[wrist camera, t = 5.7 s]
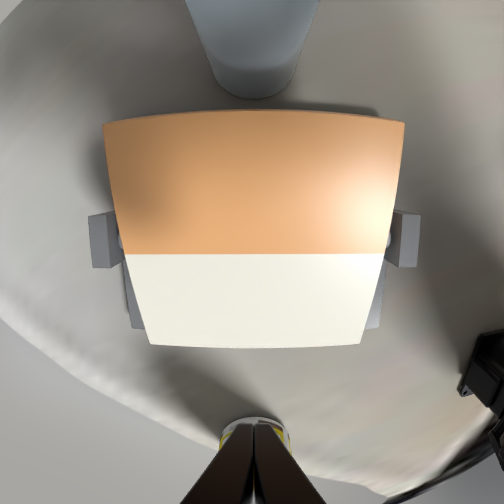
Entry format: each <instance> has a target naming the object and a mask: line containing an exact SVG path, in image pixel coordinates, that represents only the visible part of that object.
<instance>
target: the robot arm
mask: <svg viewBox="0 0 504 504" xmlns="http://www.w3.org/2000/svg"><path fill="white" fill-rule="evenodd" d="M459 394H460V396H461V397H465V396H468V395H471V394H475V396H476V397H477V398H478V399H479V400H480V401H481V402H482V403H483V405H484V406H485V407H489V408H490V410H491V411H492V412H493V413H494V414H495V415H496V416H497V418H498V419H500V420H499V422H498V423H497V424H496V426H495V427H494V428H493V429H491V431H490V432H489V433H488V437H489V439H490V442H491V444H492V446H493V449H494V451H495V453H496V456H497V458H498V460H499V463H500V465H501V468H502V470H503V471H504V329H502V330H498V331H494V332H489V333H485V334H481V335H480V336H479V337H478V340H477V343H476V346H475V349H474V352H473V356H472V359H471V362H470V365H469V367H468V370H467V373H466V376H465V379H464V381H463V384H462V387H461V389H460V392H459ZM253 493H254V497H255V504H326V502H325V501H324V500H323V498H322V497H321V496H320V494H319V493H318V492H317V491H316V489H315V488H314V486H313V485H312V483H311V482H310V481H309V479H308V478H307V477H306V475H305V474H304V472H303V471H302V470H301V468H300V467H299V465H298V464H297V462H296V461H295V460H294V458H293V457H292V455H291V454H290V452H289V451H288V449H287V448H286V446H285V445H284V443H283V442H282V440H281V439H280V437H279V436H278V434H277V433H276V431H275V430H274V428H273V427H272V425H271V424H269V423H256V424H255V425H253V424H252V423H239V424H237V425H236V427H235V428H234V430H233V431H232V433H231V434H230V436H229V437H228V438H227V440H226V441H225V443H224V444H223V446H222V447H221V449H220V450H219V451H218V453H217V454H216V456H215V457H214V458H213V460H212V461H211V463H210V464H209V465H208V467H207V468H206V470H205V471H204V472H203V474H202V475H201V476H200V478H199V479H198V480H197V482H196V483H195V484H194V486H193V487H192V488H191V490H190V491H189V492H188V493H187V495H186V496H185V497H184V499H183V500H182V501H181V502H180V504H252V502H253Z"/></svg>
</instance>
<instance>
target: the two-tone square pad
mask: <svg viewBox="0 0 504 504" xmlns="http://www.w3.org/2000/svg"><path fill="white" fill-rule="evenodd" d="M102 126H103V135H104V144H105V152H106V159H107V166H108V173H109V179H110V185H111V191H112V197H113V202H114V208H115V213H116V218H117V223H118V228H119V235H118V241H119V245H120V247H121V248H122V249H123V250H124V254H125V258H126V262H127V266H128V270H129V274H130V278H131V282H132V285H133V289H134V293H135V296H136V300H137V303H138V307H139V310H140V313H141V316H142V320H143V323H144V326H145V329H146V332H147V335H148V338H149V341H150V344H157V345H172V346H189V347H215V348H291V347H317V346H335V345H350V344H359V343H360V340H361V337H362V334H363V331H364V327H365V324H366V321H367V318H368V314H369V311H370V307H371V304H372V300H373V297H374V293H375V289H376V286H377V282H378V278H379V274H380V270H381V266H382V262H383V257H384V253H385V249H386V248H388V247H389V245H390V241H391V234H390V225H391V220H392V214H393V209H394V203H395V197H396V191H397V185H398V178H399V171H400V164H401V156H402V147H403V137H404V127H405V123H404V122H401V121H397V120H394V119H389V118H382V117H375V116H367V115H359V114H349V113H339V112H327V111H312V110H290V109H228V110H207V111H192V112H180V113H169V114H160V115H151V116H143V117H136V118H129V119H122V120H116V121H113V122H109V123H106V124H103V125H102Z"/></svg>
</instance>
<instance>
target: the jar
mask: <svg viewBox="0 0 504 504" xmlns="http://www.w3.org/2000/svg"><path fill="white" fill-rule="evenodd" d="M185 2H186V5H187V7H188V10H189V12H190V15H191V17H192V20H193V22H194V25H195V27H196V30H197V32H198V35H199V37H200V40H201V42H202V45H203V47H204V50H205V52H206V55H207V58H208V60H209V63H210V65H211V68H212V70H213V73H214V76H215V78H216V80H217V82H218V83H219V84H220V85H221V86H222V87H223V88H224V89H225V90H226V91H228V92H229V93H231V94H233V95H235V96H238V97H241V98H247V99H261V98H266V97H269V96H272V95H274V94H276V93H278V92H280V91H281V90H282V89H284V88H285V87H286V86H287V85H288V83H289V82H290V80H291V78H292V77H293V74H294V71H295V68H296V65H297V62H298V59H299V57H300V54H301V51H302V48H303V45H304V42H305V39H306V37H307V34H308V31H309V28H310V25H311V22H312V20H313V17H314V14H315V11H316V9H317V6H318V3H319V0H185Z"/></svg>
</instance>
